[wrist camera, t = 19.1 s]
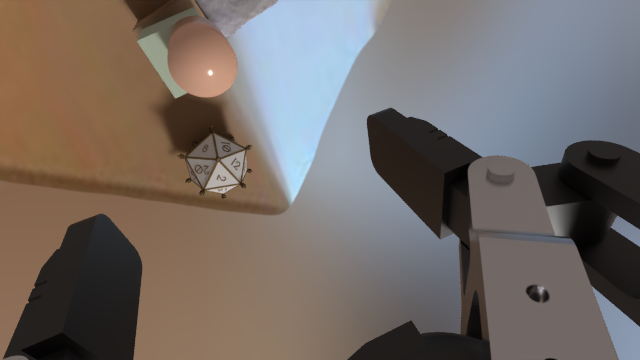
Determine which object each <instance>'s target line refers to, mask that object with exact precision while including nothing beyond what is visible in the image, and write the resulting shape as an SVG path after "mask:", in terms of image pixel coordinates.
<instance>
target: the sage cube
mask: <svg viewBox="0 0 640 360" xmlns="http://www.w3.org/2000/svg"><path fill="white" fill-rule="evenodd" d="M188 16H199V15H198V13H197V11H196V9H195V7H192V8H190V9H187V10H185V11H183V12H181V13H178V14H176V15H174V16H171V17H169V18H167V19H165V20H162V21H160V22H158V23H156V24H153V25H151V26H149V27H147V28H144V29H142V30H141V33H140V35H139V37H138V39H137V42H138V44H139V45H140V47H141V48H142V50H143V51H144V53H145V54H146V56H147V57H148V59H149V60H150V61H151V63H152V64H153V66H154V67H155V69H156V70H157V72H158V73H159V75H160V76H161V78H162V79H163V81H164V82H165V84H166V85H167V87H168V88H169V90H170V91H171V93H172V94H173V96H174V97H175V98H178V97H180V96H182V95H184V94H186V93H188V92H186V91H184V90H183V89H182V88H181V87H179V86H178V85H177V83H176V82H175V81H174V79H173V78H172V76H171V74H170V72H169V68H168V63H167V56H168V40H169V34H170V31H171V29H172V27H173V26H174V24H175V23H176V22H177V21H179V20H180V19H182V18H184V17H188Z"/></svg>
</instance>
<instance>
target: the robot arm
mask: <svg viewBox="0 0 640 360" xmlns="http://www.w3.org/2000/svg"><path fill="white" fill-rule="evenodd" d="M367 128H368V137H369V145H370V155H371V160H372V163H373V166H374V168H375V170H376V171H377V173H378V174H379V175H380V176H381V177H382V179H384V181H385V182H386V183H387V184H388V185H389V186H390V187H391V188H392V189H393V190H394V191H395V192H396V193H397V194H398V195H399V196H400V197H401V198H402V200H403V201H404V202H405V203H406V204H407V205H408V206H409V207H410V208H411V209H412V210H413V211H414V212H415V213H416V214H417V215H418V216H419V218H420V219H422V221H423V222H424V223H425V224H426V225H427V226H428V227H429V228H430V229H431V230H432V231H433V232H434V233H435V234H436V235H437V236H438V238H439V239H442V238H444V237H447V236H449V235H451V234H453V233H454V234H455V235H457V236H458V237H459V238H460V239H459V262H460V284H461V326H460V334H456V333H446V332H430V333H422V334H420V333H419V331H418V330H417V328H416V327H415V325H414V324H413V322H412V321H409V322H407V323H405V324H403V325H401V326H399V327H397V328H395V329H393V330H392V331H389V332H387V333H385V334H384V335H381V336H379V337H377V338H375V339H373V340H371V341H369V342H367V343H365V344H364V345H363V346H362V347H361V348H360V349H359V350H357V351H356V352H355V353H354V354H353V355H352V356H351V357H350V358H349V359H348V360H619V359H618V357H617V353H616V351H615V348H614V345H613V343H612V340H611V337H610V335H609V332H608V329H607V327H606V324H605V321H604V319H603V316H602V313H601V311H600V308H599V305H598V303H597V300H596V297H595V295H594V293H593V289H592V287H591V286H593V287H594V288H595V289H596V290H597V291H599V292H600V293H601V294H602V295H603V296H605V298H607V299H608V300H609V301H610V302H611V303H613V304H614V305H615V306H616V307H617V308H618V309H620V310H621V311H622V312H623V313H624V314H626V315H627V316H628V317H629V318H630V319H632V320H633V321H634V322H635V323H636V324H637V325H638V326H640V247H639V246H637V245H636V244H634V243H633V242H631V241H630V240H628V239H627V238H625V237H624V236H622V235H621V234H619V233H618V232H616V231H615V230H613V229H612V228H611V226H612V224H613V222H614V220H615V218H616V217H617V215H618V216H619V217H621V218H623V219H624V220H626V221H627V222H629V223H631V224H632V225H634V226H635V227H637V228H639V229H640V153H638V152H636V151H633V150H631V149H629V148H627V147H624V146H622V145H618V144H615V143H611V142H605V141H581V142H577V143H574V144H572V145H570V146H568V147H567V149H566V150H565V153H564V156H563V159H562V162H561V163H556V164H549V165H542V166H536V167H530V166H529V165H527V164H526V163H524V162H522V161H520V160H518V159H515V158H511V157H506V156H488V157H481V156H480V155H478V154H477V153H475V152H474V151H472V150H470V149H469V148H467V147H466V146H464V145H463V144H461V143H460V142H458V141H456V140H455V139H453V138H452V137H450V136H449V137H448V136H447V134H446V133H444V132H442V131H441V130H438V128H436V127H435V126H433V125H432V124H430V123H429V122H427V121H424V120H421V119H417V118H413V117H408V118H406V117H405V116H403V115H402V114H400V113H399V112H397V111H396V110H394V109H393V108H389V109H386V110H383V111H380V112H377V113H375V114H372V115H369V116H368V118H367ZM141 277H142V262H141V258H140V256H139V254H138V252H137V250H136V249H135V247H134V246H133V245H132V244H131V243H130V242H129V240H128V239H127V238H126V237H125V236H124V235H123V233H122V232H121V231H120V230H119V229H118V228H117V227H116V225H115V224H114V223H113V222H112V221H111V220H110V218H109V217H107V216H106V215H104V214H98V215H96V216H93V217H90V218H88V219H85V220H82V221H79V222H77V223H74V224H72V225H70V226H69V227H68V229H67V232H66V234H65V237H64V239H63V242H62V245H61V247H60V249H57V250H56V251H55V252H54V253H53V255H52V256H51V257H50V258H49V260H48V261H47V262H46V263H45V265H44V266H43V267H42V268H41V271H40V273H39V276H38V278H37V280H36V282H35V285H34V286H35V288H34V289H33V290H32V292H31V295H30V297H29V299H28V301H29V303H28V304H26V306H25V308H24V311H23V313H22V315H21V318H20V320H19V322H18V325H17V327H16V329H15V332H14V334H13V336H12V339H11V341H10V344H9V346H8V348H7V351H6V353H5V355H4V358H3V360H133V357H134V346H135V337H136V326H137V316H138V307H139V297H140V287H141Z"/></svg>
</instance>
